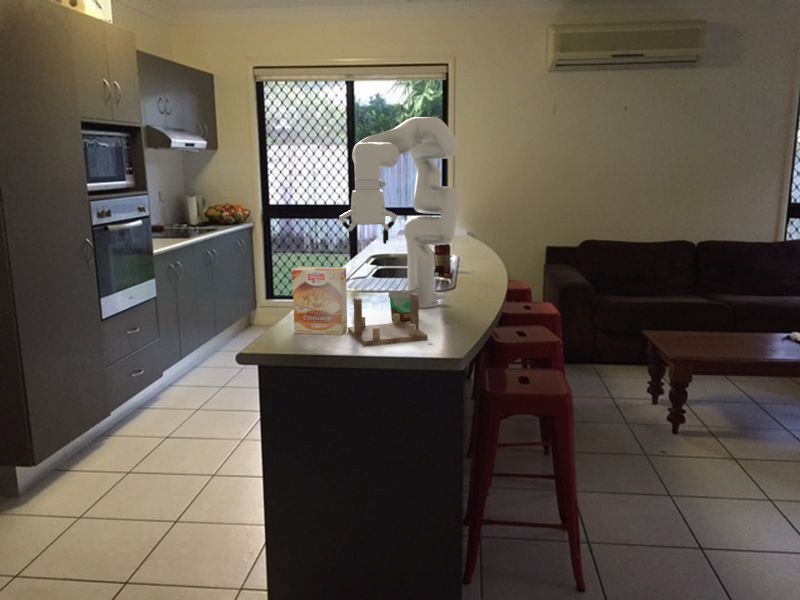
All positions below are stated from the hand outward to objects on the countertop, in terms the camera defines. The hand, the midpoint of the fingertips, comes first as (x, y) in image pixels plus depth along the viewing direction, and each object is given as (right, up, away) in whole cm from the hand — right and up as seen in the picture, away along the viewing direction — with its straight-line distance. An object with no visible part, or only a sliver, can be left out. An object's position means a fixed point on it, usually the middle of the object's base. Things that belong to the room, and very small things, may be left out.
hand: (368, 243), depth 199 cm
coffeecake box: (-15, -27, +3) cm, 31 cm away
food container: (+12, -24, +16) cm, 31 cm away
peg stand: (+5, -28, -3) cm, 28 cm away
